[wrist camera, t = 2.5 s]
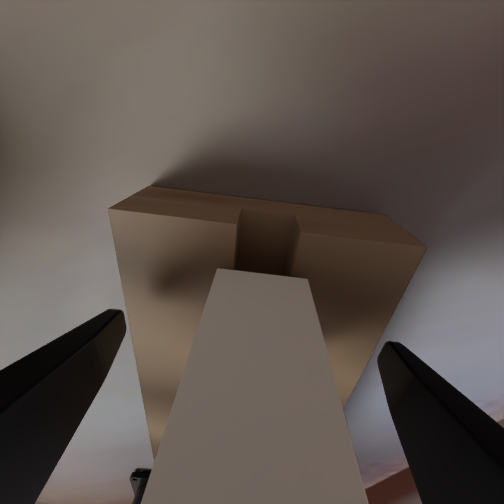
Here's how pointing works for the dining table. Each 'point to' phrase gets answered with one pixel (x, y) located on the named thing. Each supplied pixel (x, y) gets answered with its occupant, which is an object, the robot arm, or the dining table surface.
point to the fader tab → (257, 405)
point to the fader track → (258, 261)
